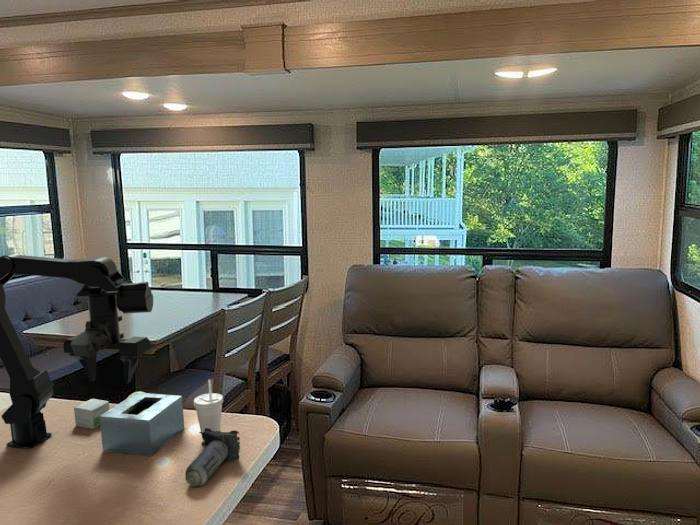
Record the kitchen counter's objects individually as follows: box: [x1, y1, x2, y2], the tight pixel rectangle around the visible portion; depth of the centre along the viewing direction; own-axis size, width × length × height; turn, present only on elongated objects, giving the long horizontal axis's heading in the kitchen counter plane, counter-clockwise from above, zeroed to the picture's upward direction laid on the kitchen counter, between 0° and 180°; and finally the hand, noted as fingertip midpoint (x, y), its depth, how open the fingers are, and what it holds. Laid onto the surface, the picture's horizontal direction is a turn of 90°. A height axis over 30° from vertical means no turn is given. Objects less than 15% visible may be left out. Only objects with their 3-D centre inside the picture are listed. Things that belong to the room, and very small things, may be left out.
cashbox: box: [99, 392, 185, 457], centre depth 119 cm, size 12×13×8 cm
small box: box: [73, 398, 110, 430], centre depth 129 cm, size 6×6×5 cm
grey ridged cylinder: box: [184, 428, 241, 488], centre depth 105 cm, size 9×8×12 cm
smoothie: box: [193, 379, 224, 443], centre depth 118 cm, size 6×6×14 cm
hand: (110, 381), depth 120 cm, fingers open, 9 cm apart
